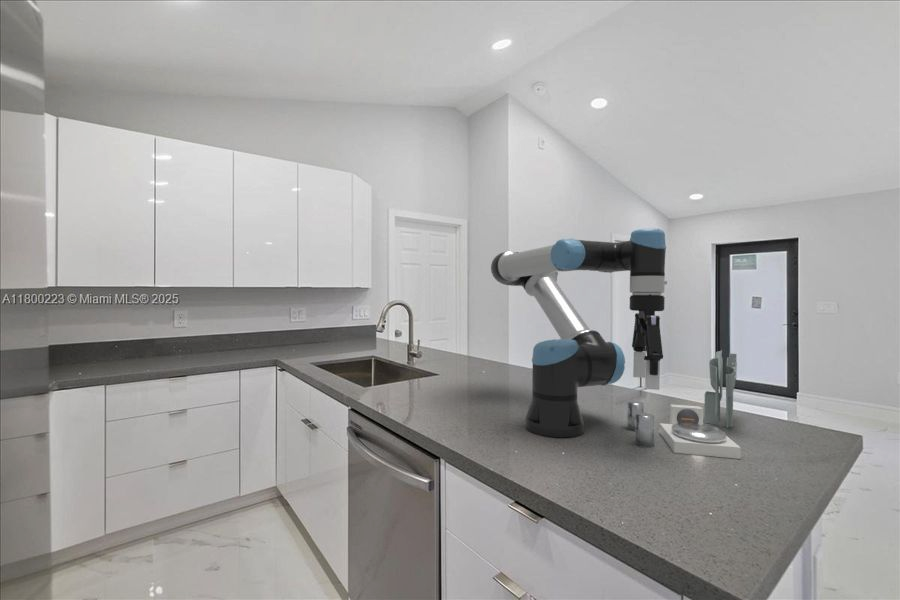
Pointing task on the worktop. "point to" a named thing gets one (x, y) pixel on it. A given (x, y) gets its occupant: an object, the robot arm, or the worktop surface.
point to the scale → (694, 447)
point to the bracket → (715, 397)
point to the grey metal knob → (644, 430)
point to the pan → (699, 433)
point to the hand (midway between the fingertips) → (645, 382)
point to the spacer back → (633, 413)
